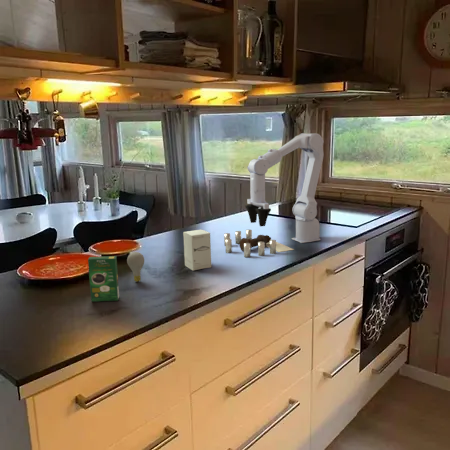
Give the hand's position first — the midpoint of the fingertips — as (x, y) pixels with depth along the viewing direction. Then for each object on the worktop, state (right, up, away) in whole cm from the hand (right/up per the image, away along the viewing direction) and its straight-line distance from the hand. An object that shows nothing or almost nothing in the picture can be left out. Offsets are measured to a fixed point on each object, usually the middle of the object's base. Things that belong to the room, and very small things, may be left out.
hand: (257, 224), depth 182 cm
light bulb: (-41, -19, -33) cm, 56 cm away
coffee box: (-48, -22, -47) cm, 71 cm away
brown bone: (0, -10, +2) cm, 10 cm away
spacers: (-5, -10, 0) cm, 11 cm away
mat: (+7, -9, +5) cm, 12 cm away
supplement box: (-23, -15, -19) cm, 33 cm away
